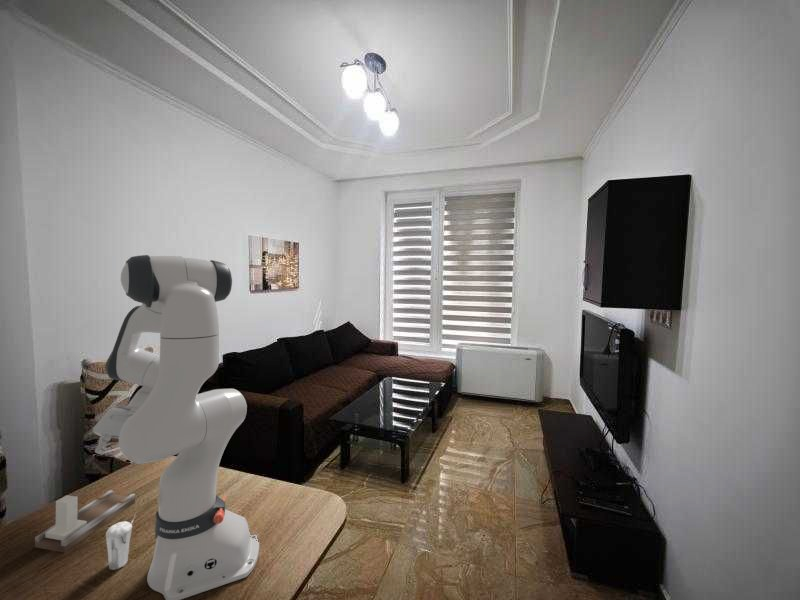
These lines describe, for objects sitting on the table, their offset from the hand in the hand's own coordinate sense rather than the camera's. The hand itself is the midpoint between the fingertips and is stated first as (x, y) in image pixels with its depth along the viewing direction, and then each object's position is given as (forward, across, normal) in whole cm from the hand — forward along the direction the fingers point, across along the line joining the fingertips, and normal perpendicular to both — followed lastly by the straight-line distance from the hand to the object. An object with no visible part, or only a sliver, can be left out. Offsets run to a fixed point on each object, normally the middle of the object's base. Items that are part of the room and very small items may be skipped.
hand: (113, 455), depth 92 cm
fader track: (+15, 0, +6) cm, 16 cm away
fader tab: (+18, 0, +1) cm, 18 cm away
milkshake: (+21, +18, 0) cm, 28 cm away
